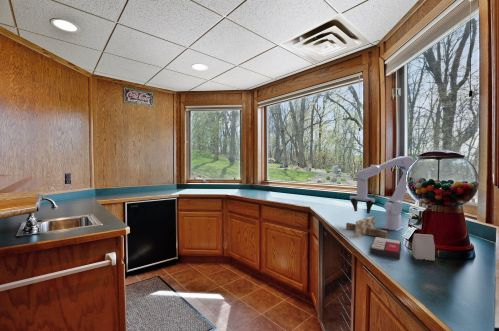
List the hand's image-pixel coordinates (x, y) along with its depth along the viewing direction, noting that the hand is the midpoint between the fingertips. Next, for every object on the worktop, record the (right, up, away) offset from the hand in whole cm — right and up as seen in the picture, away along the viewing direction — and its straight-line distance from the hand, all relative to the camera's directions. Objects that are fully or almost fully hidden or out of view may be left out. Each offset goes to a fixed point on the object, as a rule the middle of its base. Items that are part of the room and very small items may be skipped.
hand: (361, 212), depth 141 cm
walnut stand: (-3, -10, -11) cm, 15 cm away
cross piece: (-3, -10, -10) cm, 15 cm away
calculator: (-7, -11, -36) cm, 38 cm away
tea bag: (+5, -11, -44) cm, 45 cm away
